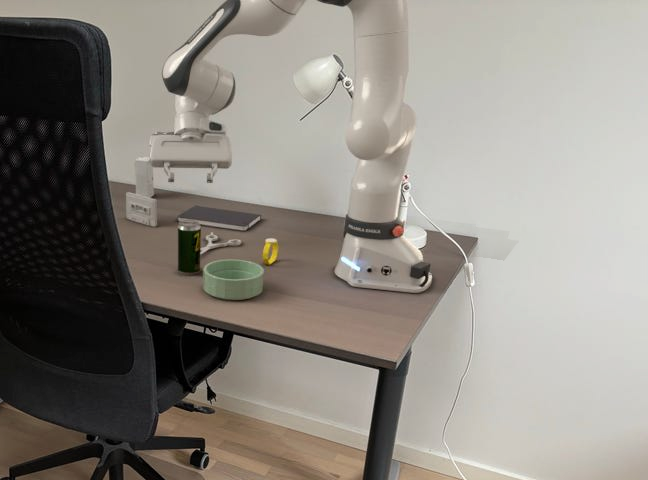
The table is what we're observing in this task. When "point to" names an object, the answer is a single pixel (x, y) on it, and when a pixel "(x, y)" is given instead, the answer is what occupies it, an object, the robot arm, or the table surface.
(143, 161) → the cosmetic box
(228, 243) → the scissors
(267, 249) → the watch
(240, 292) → the bowl
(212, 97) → the robot arm
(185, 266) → the beer can
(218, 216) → the notebook
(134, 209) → the cassette
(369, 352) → the table surface
